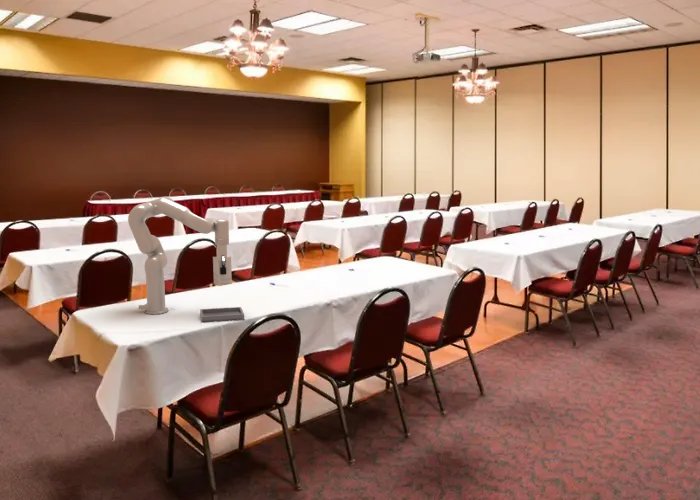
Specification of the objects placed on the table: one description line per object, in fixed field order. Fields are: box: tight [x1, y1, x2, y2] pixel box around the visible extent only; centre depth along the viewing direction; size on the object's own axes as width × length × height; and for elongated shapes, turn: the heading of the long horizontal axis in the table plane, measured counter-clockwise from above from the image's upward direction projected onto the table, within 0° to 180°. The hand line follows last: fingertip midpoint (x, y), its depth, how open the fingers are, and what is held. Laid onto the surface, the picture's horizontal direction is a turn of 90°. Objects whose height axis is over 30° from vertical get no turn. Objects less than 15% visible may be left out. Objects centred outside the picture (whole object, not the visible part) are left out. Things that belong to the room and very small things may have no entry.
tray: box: [199, 306, 245, 323], centre depth 330 cm, size 22×16×3 cm
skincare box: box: [212, 255, 233, 287], centre depth 338 cm, size 8×7×16 cm
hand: (222, 272), depth 339 cm, fingers closed on skincare box, 8 cm apart
